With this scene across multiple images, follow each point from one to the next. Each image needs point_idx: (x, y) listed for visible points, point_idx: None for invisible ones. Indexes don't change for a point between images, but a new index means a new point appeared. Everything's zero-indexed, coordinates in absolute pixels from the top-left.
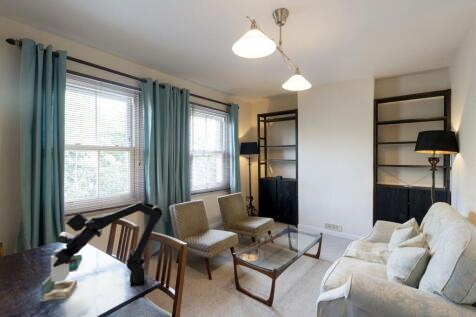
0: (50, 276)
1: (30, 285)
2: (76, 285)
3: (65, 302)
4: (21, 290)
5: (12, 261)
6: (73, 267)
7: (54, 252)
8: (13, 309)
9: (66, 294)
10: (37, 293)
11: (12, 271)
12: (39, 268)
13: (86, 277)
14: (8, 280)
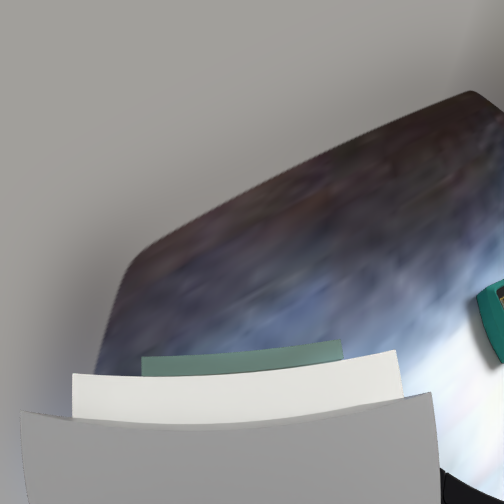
0: (277, 359)
1: (349, 228)
2: None
3: None
4: (305, 216)
5: (466, 107)
6: (502, 346)
7: (34, 445)
8: (140, 279)
9: None
10: (266, 310)
11: (428, 124)
12: (470, 188)
13: None
14: (378, 137)
